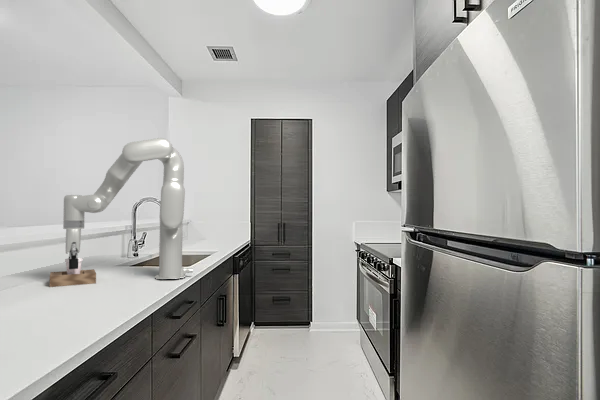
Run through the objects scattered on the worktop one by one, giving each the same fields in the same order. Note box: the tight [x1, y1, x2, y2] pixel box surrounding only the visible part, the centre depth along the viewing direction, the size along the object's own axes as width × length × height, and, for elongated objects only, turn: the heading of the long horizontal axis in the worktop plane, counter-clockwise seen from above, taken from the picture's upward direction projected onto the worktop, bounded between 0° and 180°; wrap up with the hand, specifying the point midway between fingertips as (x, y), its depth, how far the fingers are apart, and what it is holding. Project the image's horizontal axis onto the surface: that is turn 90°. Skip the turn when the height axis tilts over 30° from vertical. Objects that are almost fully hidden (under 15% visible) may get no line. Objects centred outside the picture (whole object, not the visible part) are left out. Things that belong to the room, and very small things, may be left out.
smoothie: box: [64, 257, 84, 275], centre depth 166 cm, size 6×6×14 cm
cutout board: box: [49, 268, 97, 288], centre depth 166 cm, size 16×12×4 cm
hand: (73, 267), depth 166 cm, fingers open, 9 cm apart
